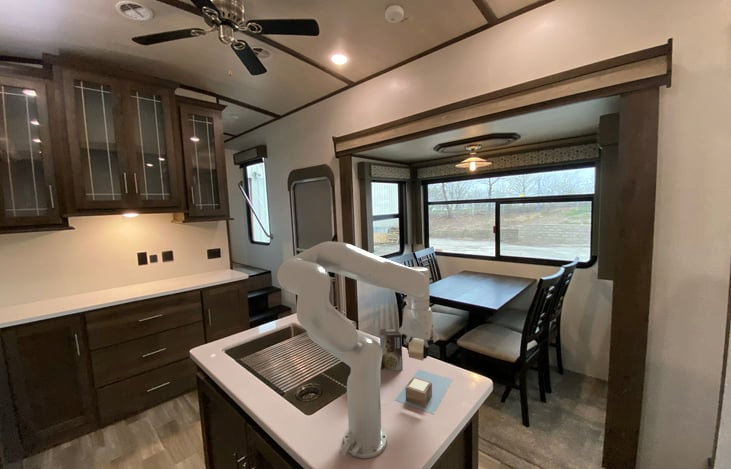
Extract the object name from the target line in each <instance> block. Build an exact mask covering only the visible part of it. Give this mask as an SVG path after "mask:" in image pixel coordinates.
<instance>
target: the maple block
mask: <svg viewBox="0 0 731 469" xmlns="http://www.w3.org/2000/svg"><path fill="white" fill-rule="evenodd" d="M424 346H425V344H424V340H423V339H419V338H414V337H412V340H411V341H410V342H409V354H408V358H410V359H413V360H414V359H415V360H419V361H422V362H423V361H424V360H425V358H424Z"/></svg>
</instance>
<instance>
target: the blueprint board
mask: <svg viewBox="0 0 731 469" xmlns="http://www.w3.org/2000/svg"><path fill="white" fill-rule="evenodd" d="M452 382H453V378H450V377H447V376H443V375H440V374H435V373H433V372H429V371H426V370H423V369H418V370H417V371H416V372H415V373H414V374H413V376H412V377H411V378H410V380H409V381H408V383H407V384H405V386H404V387H403V389H402V390H401V391H400V392H399V394H398V395H397V396H396V397H395V399H394V401H396V402H398V403H401V404H404V405H407V406H410V407H413V408H414V409H417V410H420V411H423V412H426V413H428V414H430V415H434V414H435V413H436V411H437V410H438V407H439V406H440V404H441V402H442V400H443V399H444V397H445V394H446V393H447V392H448V389H449V387H450V386H451V384H452Z"/></svg>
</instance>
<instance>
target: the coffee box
mask: <svg viewBox="0 0 731 469" xmlns="http://www.w3.org/2000/svg"><path fill="white" fill-rule="evenodd" d="M398 330H399V328H380V331H379V344H380V346H381V348H382V353H383V354H382V362H381V368H380V372H381V371H403V370H404V367H403V366H404V364H403V363H404V362H403V344H402V341H403V340H402V339H403V338H402V337H403V336H402V334H401V333H400V332H399V331H398Z"/></svg>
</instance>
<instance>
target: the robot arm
mask: <svg viewBox="0 0 731 469" xmlns="http://www.w3.org/2000/svg"><path fill="white" fill-rule="evenodd" d="M329 272H330V273H334V274H337V275H341V276H343V277H347V278H350V279H353V280H356V281H359V282H362V283H365V284H367V285H370V286H375V287H378V288H383V289H389V290H390V291H392V292H395V293H398V294H404V295H406V297H404V298H403V302H405V303H406V305H405V306H404V307H403V308H404V309H403V315H402V323H401V326H400V327H399V328H398V329H399V330H398V331H399V332H400V333H401V337H403V338H404V339H405V343H406V350H407V354H408V355H409V342H410V341H411V340H412V339H413V338H418V339H423V340H424V344H425V346H424V358H425V359H427V358H428V357H429V356H430V354H431V352H430V350H431V349H430V348H431V345H433V344H434V343H436V342H437V341H438V340H440V336H439V335H438V333H437V332H436V330H435V327H434V326H435V324H434V315H433V311H432V307H430V271H429V269H428V268H427V267H424V266H411V267H409V266H407V265H403V264H400V263H398V262H395V261H392V260H390V259H387V258H385V257H381V256H379V255H376V254H373V253H371V252H369V251H367V250H365V249H362V248H360V247H358V246H355V245H353V244H350V243H347V242H341V241H330V240H329V241H324V242H323V241H322V242H321V243H318V244H316V245H314V246H312V247H309V248H307V249H305V250H304V251H302V252H300V253H297V254H295V255H294V256H291V257H290V258H287V259H286V260H285V261H283V263H282V264H281V265H280V267H278V271H277V276H276V277H277V282H278V284H279V285H280V287H281V288H282V289H284V290H286V291H288V292H290V293H292V294H294V295H297V300H296V307H295V308H296V318H297V321H298V322H299V325H300V326H301V327H302V328H303V329H304V330H306V333H307V336H308V337H309V339H310V340H311V341H312V342H314V343H315V344H316V345H317V346H319V347H321V348H322V349H323V350H325V351H326V352H327V353H329V354H330V355H332V356H334V357H335V358H337V359H338V360H340V361H341V362H343V363H344V364H346V365H347V366H348V367H349V368H350V374H349V375H348V377H347V382H346V394H347V396H346V397H347V398H346V399H347V415H348V416H347V419H348V428H347V429H346V431H345V432H344V436H343V445H342V446H341V448H340V449H339V454H340V455H341V456H342V457H346V455H347V454H350V455H351V456H352V457H355V458H357V459H358V458H359V459H370V458H374V457H376V456H378V455H380V454H381V453H382V452H383V451H384V450H385V449H386V447H387V444H388V443H387V442H388V435H387V432H386V431H385V429H384V428H383V426H382V412H381V411H382V410H381V409H382V408H381V407H382V406H381V386H380V374H381V362H382V354H383V353H382V348H381V346H380V342H378V340H376V339H374V338H373V337H372V336H370V335H368V334H365V333H363V332H360V331H358V330H357V329H356V326H355V324H354V323H353V322H352V321H351V320H350V319H349V318H347V317H346V316H345V315H344V314H342V312H340V311H339V310H338V309H336V308H335V307H334V306H333V305H332V304H331V302H330V291H331V277H330V274H329ZM431 337H432V338H431ZM425 359H424V360H425Z"/></svg>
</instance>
